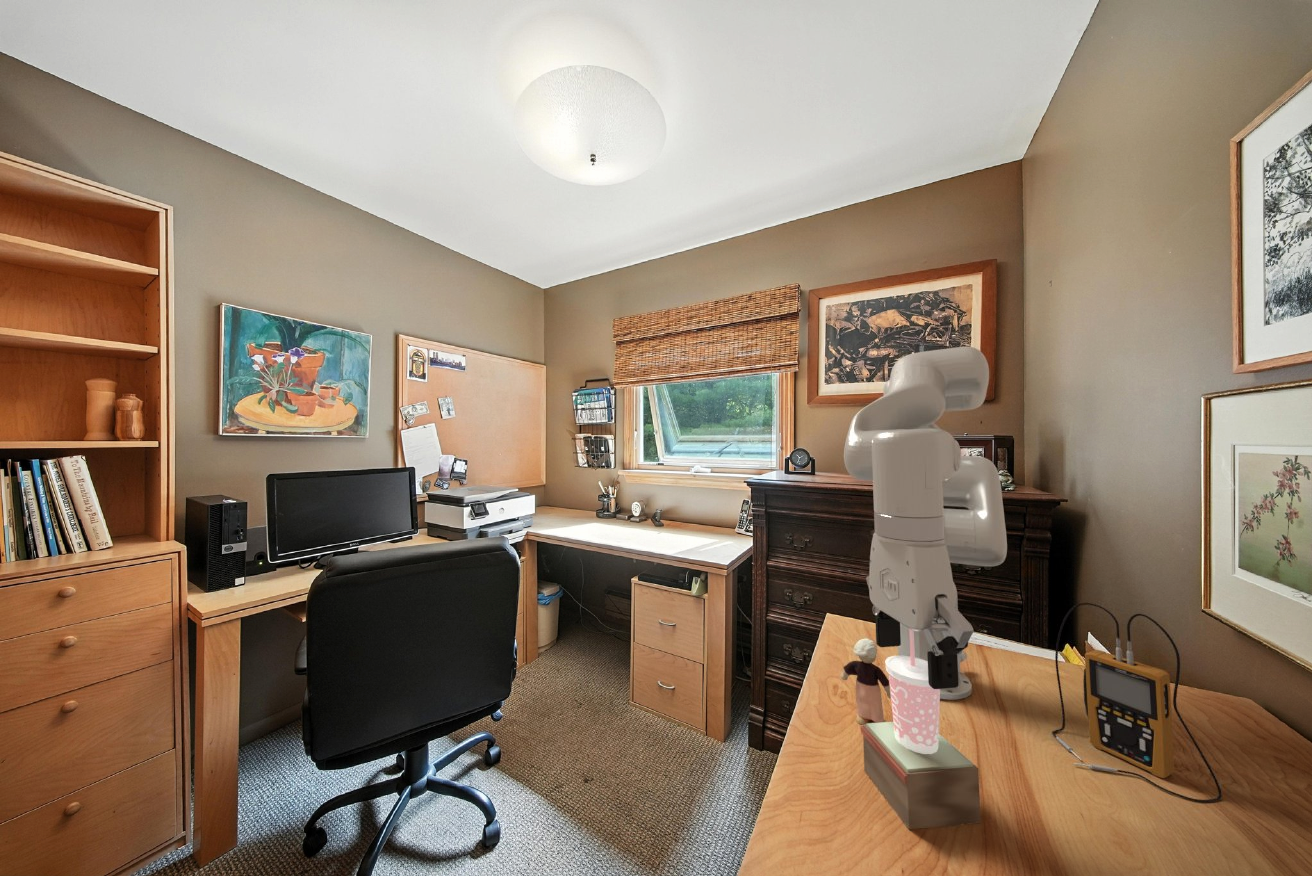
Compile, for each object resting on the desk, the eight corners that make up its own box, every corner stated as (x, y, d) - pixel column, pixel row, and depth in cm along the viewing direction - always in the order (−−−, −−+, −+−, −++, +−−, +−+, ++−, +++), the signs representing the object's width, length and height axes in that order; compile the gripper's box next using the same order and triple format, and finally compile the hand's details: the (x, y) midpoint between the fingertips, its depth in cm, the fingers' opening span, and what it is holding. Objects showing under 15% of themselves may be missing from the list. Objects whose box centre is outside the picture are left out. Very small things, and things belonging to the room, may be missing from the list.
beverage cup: (880, 722, 55) (876, 615, 56) (931, 727, 54) (927, 618, 54) (898, 755, 49) (893, 634, 50) (956, 761, 48) (950, 638, 48)
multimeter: (1029, 743, 60) (1022, 602, 60) (1065, 724, 64) (1059, 592, 64) (1190, 827, 46) (1179, 644, 47) (1224, 797, 50) (1213, 628, 51)
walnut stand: (925, 765, 56) (923, 717, 56) (980, 822, 47) (978, 765, 47) (862, 770, 55) (860, 722, 55) (906, 829, 46) (904, 771, 47)
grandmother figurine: (897, 723, 64) (894, 640, 65) (895, 737, 61) (892, 650, 62) (843, 707, 69) (841, 629, 69) (839, 719, 65) (836, 638, 66)
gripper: (843, 517, 61) (847, 635, 60) (931, 545, 43) (937, 710, 43) (891, 515, 61) (896, 631, 61) (997, 541, 44) (1004, 704, 44)
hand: (913, 664), depth 52 cm, fingers open, 9 cm apart
